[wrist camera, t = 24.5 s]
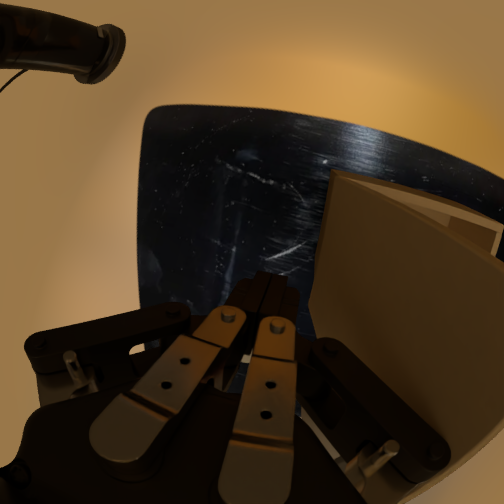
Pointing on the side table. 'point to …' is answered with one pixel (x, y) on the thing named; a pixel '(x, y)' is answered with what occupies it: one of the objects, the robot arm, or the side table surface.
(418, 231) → the breadbox lid
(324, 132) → the side table surface
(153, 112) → the side table surface
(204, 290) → the side table surface
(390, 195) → the box
